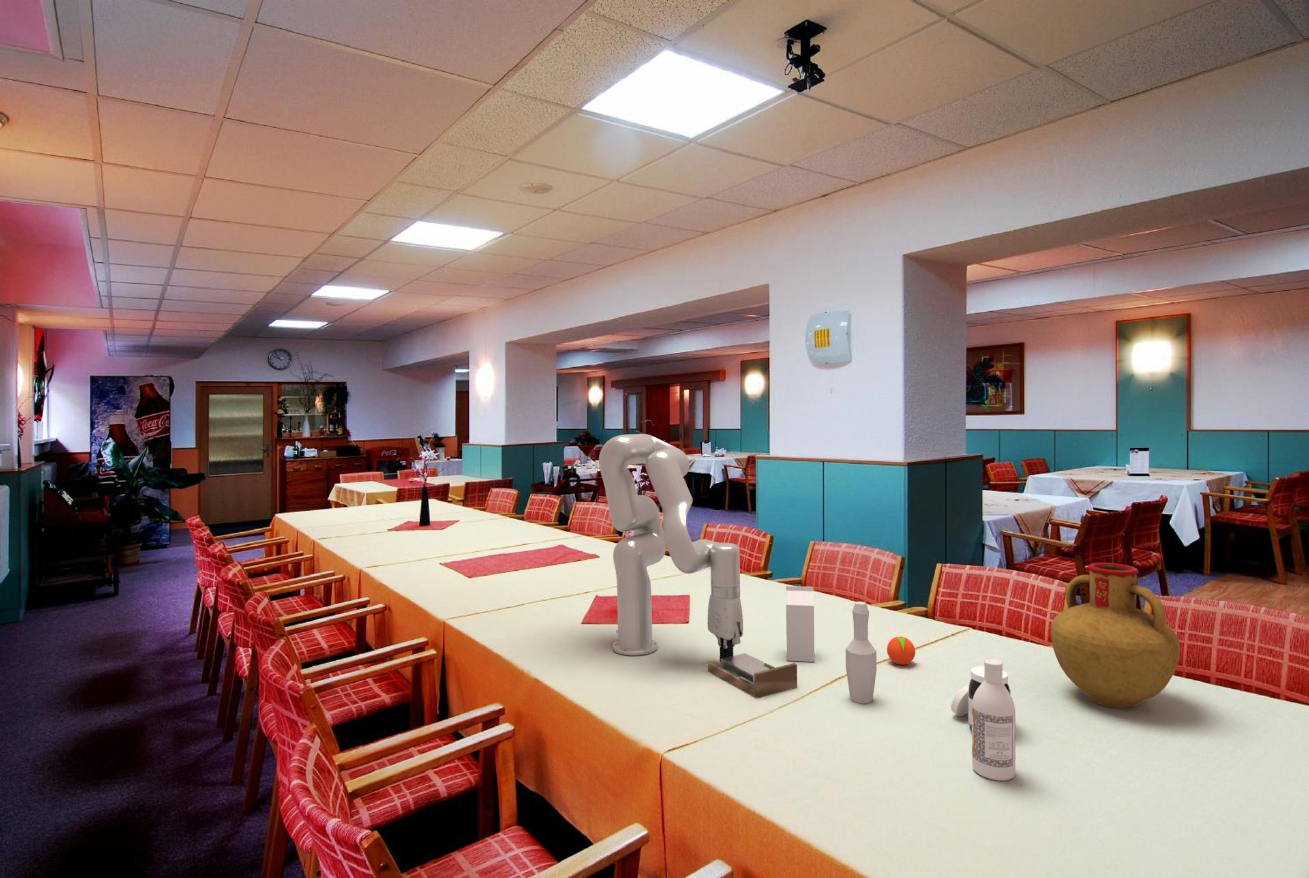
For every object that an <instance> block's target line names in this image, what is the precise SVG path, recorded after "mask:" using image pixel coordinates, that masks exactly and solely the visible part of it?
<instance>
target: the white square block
mask: <svg viewBox="0 0 1309 878" xmlns="http://www.w3.org/2000/svg"><path fill="white" fill-rule="evenodd" d="M765 663H766V662H764V661H763V662H761V663H757V664H753V665H749V666H745V667H741V668H739V677H743V678H745V679H747V680H749V681H751V682H753V675H754V673H756V672H760V671H764V670H768V669H769V668H767V667H765V666H764V664H765Z"/></svg>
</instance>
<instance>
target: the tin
mask: <svg viewBox="0 0 1309 878" xmlns="http://www.w3.org/2000/svg"><path fill="white" fill-rule="evenodd" d="M761 662H764V661H763V660H761V659H759V658H756V657H754V656H752V655H750V654H747V653H746V652H744V653H740V654H736V655H735V654H734V655H733V656H731V657H726V658H722V659H721V662H720V664H721V668H722V669H724V670H726V671H728V672H730V673H732V674H734V675H736V676H738V677H739V668H741V667H745V666H749V665H753V664H757V663H761Z"/></svg>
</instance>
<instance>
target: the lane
mask: <svg viewBox="0 0 1309 878" xmlns="http://www.w3.org/2000/svg"><path fill="white" fill-rule="evenodd" d="M764 663H765V664H764V666H765V667H767V668H769V669H768V670H764V671H760V672H756V673H754V683H753V682H751V681H749V680H747V679H745V678H743V677H738V676H736V675H734V674H732V673H730V672H728V671H726V670H724V669H722V668H721V667H720V666H718V665H716V664H714V663H713V662H707V671H708V672H709V673H711V674H713V675H714V676H716V677H719V678H720V679H721V680H724V681H726V682H727V683H729V684H731V685H732V686H734V687H736V688H738V689H739V690H740V691H741V690H742V691H744V692H745V693H747V694H749V695H751V696H752V697H754V698H755V699H756V698H757V699H759V698H762V697H767V696H770V695H774V694H777V693H778V694H779V693H781V692H785V691H788V690H792V689H795V688H798V664H797V663H795V662H793V663H789V664H785V665H781V666H777V667H775V666H773V665H771V664H768V663H766V662H764Z"/></svg>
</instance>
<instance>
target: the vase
mask: <svg viewBox="0 0 1309 878" xmlns="http://www.w3.org/2000/svg"><path fill="white" fill-rule="evenodd" d="M1087 568H1088V570H1089V574H1082V575H1078V576H1076V577H1073V578H1072V579H1071V581H1070V582H1069V583H1068V584H1067V586H1066V590H1065V600H1066V605H1067V609H1064V610H1063V611H1061V612H1060V613H1058V614H1056V616H1054V618H1053V619H1052V622H1051V625H1050V636H1051V643H1052V645H1051V646H1052V649H1053V652H1054V655H1055V658H1056V660H1057V663H1058V664H1059V666H1060V668H1061V669H1062V671H1063V672H1064V674H1065V675H1066V677H1067V678H1068V679H1069V680H1070V681H1071V682H1072V683H1073V684H1074V685H1075V686H1076V687H1077V688H1078V689H1080V690H1081V691H1082V692H1083V693H1084V694H1086V695H1087V696H1088V698H1090V700H1092V701H1093V702H1095V703H1097V704H1099V705H1102V706H1105V707H1108V708H1109V707H1110V708H1113V709H1132V708H1134V707H1136V706H1138V705H1139V704H1141V703H1143V702H1145V701H1148V700H1150V699H1152V698H1154V697H1157V695H1159V694H1160V693H1161V692H1162V691H1163V690H1164V689H1165V688H1167V685H1168V684H1169V682H1170V681H1171V679H1172V677H1173V675H1174V674H1175V672H1176V670H1177V668H1178V667H1177V666H1178V663H1179V660H1180V653H1181V643H1180V640H1179V638H1178V636H1177V634H1176V632H1175V631H1174V630H1173V629H1172V628H1171V627H1170V626H1169V625H1168V624H1167V623H1166V619H1167V614H1166V610H1165V608H1164V605H1163V603H1162V601H1161V600H1160V599H1159V597H1158V596H1157V595H1156V594H1155V593H1154V592H1153V591H1151V590H1150V589H1148V588H1146V587H1144V586H1143V585H1139V584H1137V574H1138V573H1139V569H1138V568H1137V567H1134V566H1132V565H1128V564H1121V563H1115V562H1094V563H1090V564H1088V565H1087ZM1083 585H1089V602H1088V603H1087V602H1086V603H1081V604H1078V603H1077V597H1076V595H1077V591H1078V589H1079V588H1080V587H1081V586H1083ZM1137 596H1139V597H1141V598H1142V599H1144V600H1145V601H1146V602H1147V603H1148V604H1149V606H1150V607H1151V609H1152V612H1153V614H1151V613H1149V612H1147V611H1144V610H1142V609H1140V608H1137Z"/></svg>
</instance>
